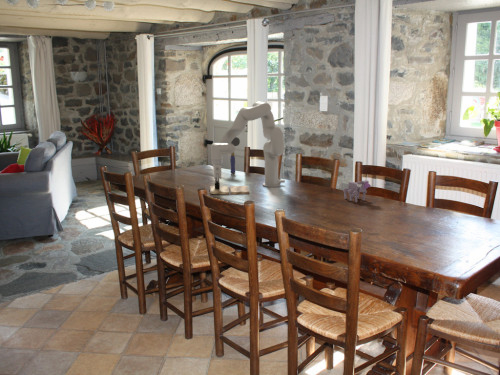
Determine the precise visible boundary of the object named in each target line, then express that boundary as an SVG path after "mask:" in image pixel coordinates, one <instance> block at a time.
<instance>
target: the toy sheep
mask: <svg viewBox="0 0 500 375" xmlns="http://www.w3.org/2000/svg"><path fill="white" fill-rule="evenodd" d="M371 187H372V185H371V184H370V183H369V180H366V179H365V180H362V181H361V180H360V181H358V182H355V181H348V187H347V188H346V187H344V188H343V189H342V192H343V195H344V196H343V197H344V200H347V199H348V197H347V193H348V195H349V201H350V202H352V201H353V198H354V203H358V199H359V198H360V193H362V201H366V194H367V189H368V188H371Z"/></svg>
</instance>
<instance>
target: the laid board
mask: <svg viewBox="0 0 500 375" xmlns="http://www.w3.org/2000/svg"><path fill="white" fill-rule="evenodd" d="M228 189H229V195H249V194H250V190H249V187H248V185H237V186H236V185H233V186H231V185H230V186H228Z"/></svg>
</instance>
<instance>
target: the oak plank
mask: <svg viewBox="0 0 500 375" xmlns="http://www.w3.org/2000/svg"><path fill="white" fill-rule="evenodd" d="M209 194H210V195H230V190H229V186H227V185H226V186H225V185H220V189H215V185H210V186H209Z"/></svg>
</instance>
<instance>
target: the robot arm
mask: <svg viewBox="0 0 500 375" xmlns="http://www.w3.org/2000/svg"><path fill="white" fill-rule="evenodd" d="M271 106H272V105H270V103H268V102H265V101H264V102H263V101H256V102H253V104H252V105H251V107H246V106H244V107H241V108H240V109H239V111H238V113H237V115H236V117H235V119H234V121H233V122H232V124H231V126H230V127H229V128H228V130H226V132H225V133H224V134H223V136H222V137H221V140H220V141H219V142H213V143H212V144H211V147H210V148H211V149H210V150H211V151H210V152H211V154H210V157H211V159H210V160H211V165H212V170H213V173H212V174H213V180H214V186H215V189H220V186H221V184H220V180H222V165H223V162H224V160H223V159H224V158H223V156H224V155H231V154H232V153H233V152H234V153H235V152H236V146H234V145H233V144H232V143H231V142H232V140H233V139H234V138H235V137H237V136H239V135H241V134H242V133H243V132H244V130H245V129H246V126H247V124H248V122H250V121H251V122H252V121H255V120H258V119H260V120H261V126H262V133H263V137H264V138H265V139H267V140H268V141H265V143H264V144H263V147H262V148H263V156H264V157H263V158H264V182H263V183H262V186H263V187H267V188H277V187H280V186H281V183H282V184H285V183H286V180H285V179H279V156H282V155H283V154H284V151H285V144H284V133H283V130H282V129H281V128H280V127H279V126H276V123H275V117H274V114H273V112H272V108H271ZM223 154H224V155H223Z"/></svg>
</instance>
